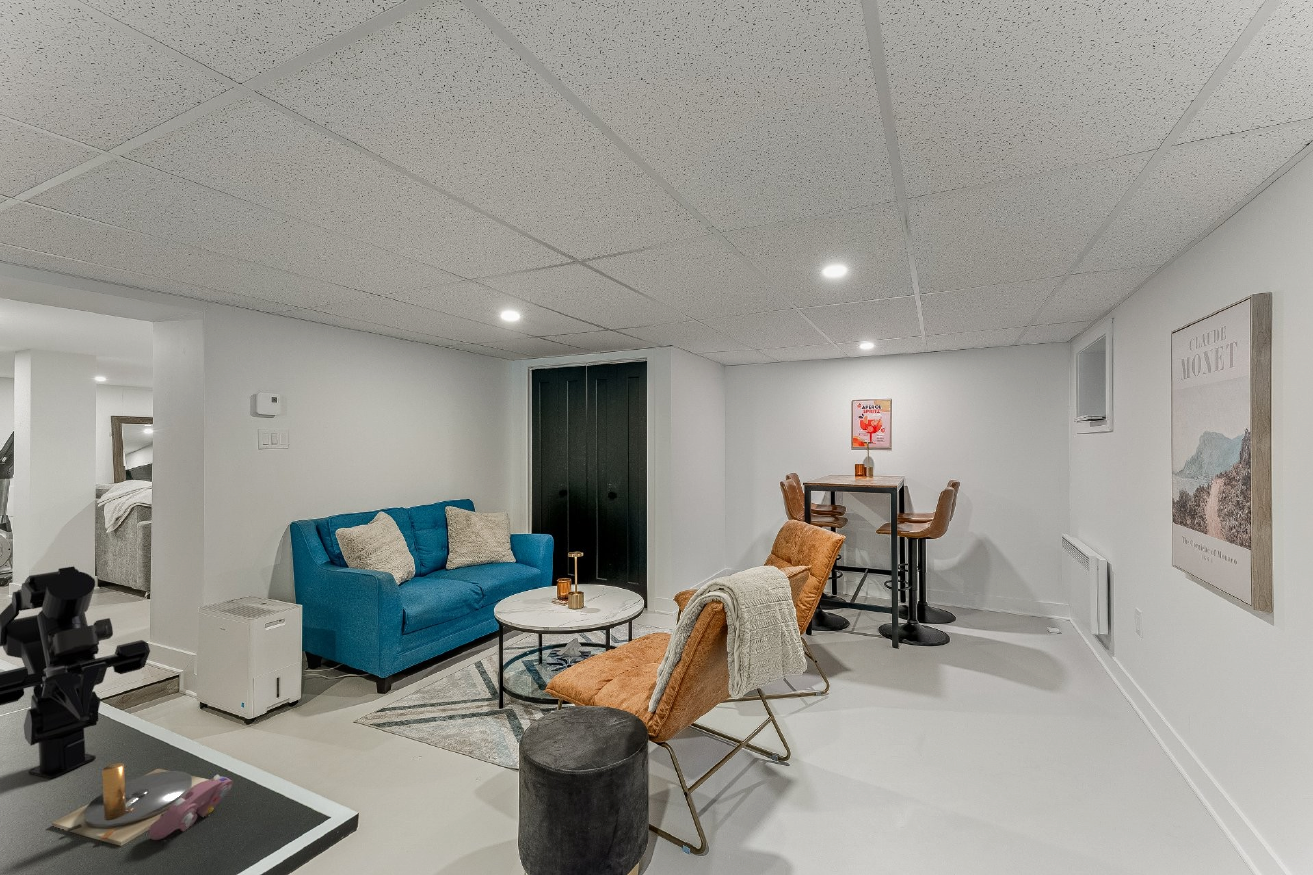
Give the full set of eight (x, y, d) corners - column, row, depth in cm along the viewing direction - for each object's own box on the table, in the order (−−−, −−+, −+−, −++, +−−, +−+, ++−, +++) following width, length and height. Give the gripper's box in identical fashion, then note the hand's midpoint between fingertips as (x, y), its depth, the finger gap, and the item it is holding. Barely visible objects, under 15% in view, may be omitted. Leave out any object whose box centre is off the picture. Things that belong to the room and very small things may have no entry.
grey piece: (68, 838, 86) (66, 782, 86) (103, 790, 98) (101, 740, 97) (180, 812, 92) (177, 759, 91) (200, 769, 103) (198, 721, 103)
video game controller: (166, 855, 86) (183, 814, 85) (142, 838, 86) (158, 797, 86) (227, 811, 95) (243, 774, 95) (205, 796, 96) (220, 759, 95)
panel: (46, 829, 89) (45, 824, 89) (158, 772, 104) (158, 767, 104) (119, 850, 85) (118, 844, 85) (225, 786, 99) (225, 782, 99)
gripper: (-13, 622, 91) (1, 715, 85) (145, 593, 106) (167, 670, 100) (-19, 662, 96) (-6, 753, 89) (133, 629, 111) (153, 705, 104)
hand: (83, 717), depth 96 cm, fingers closed
